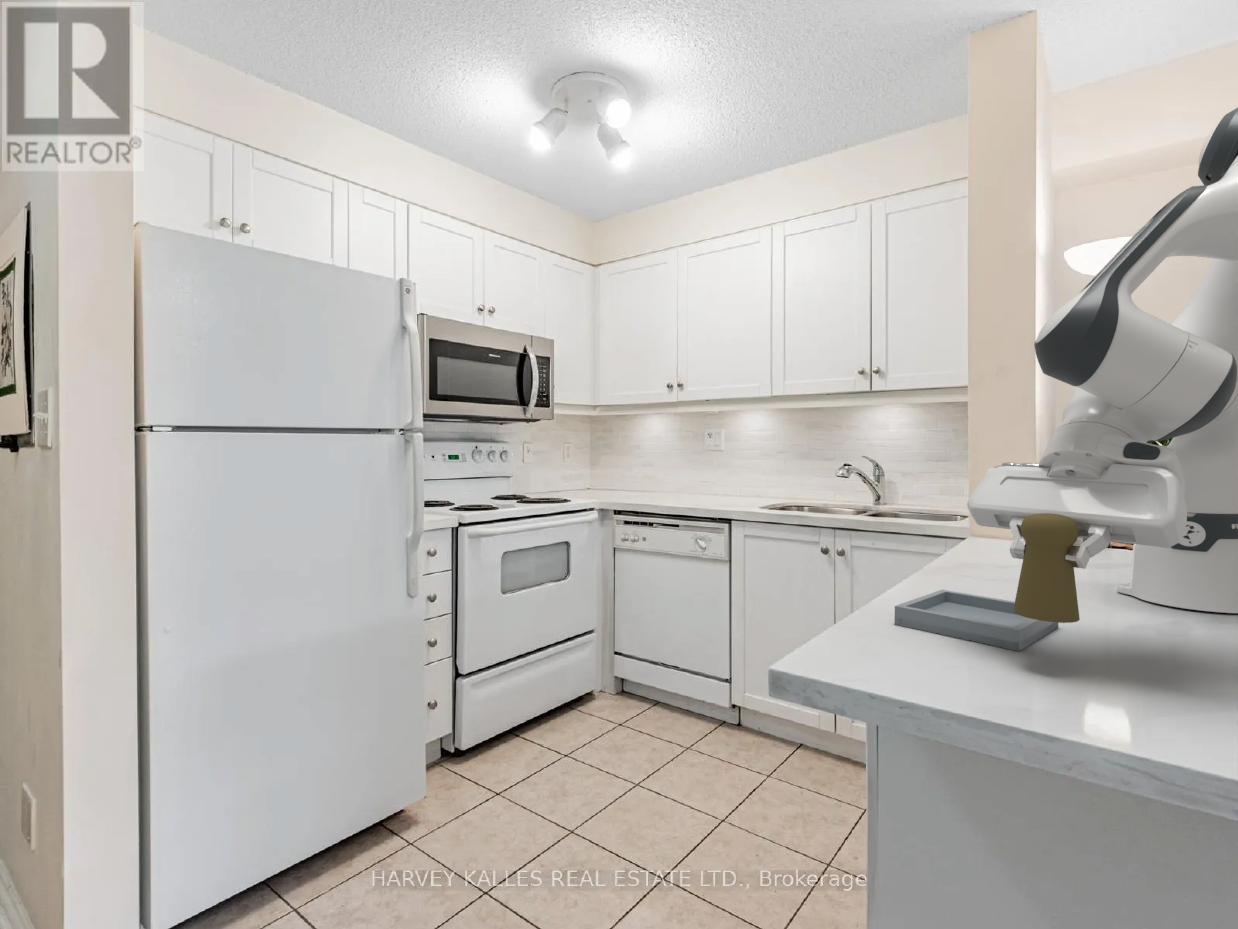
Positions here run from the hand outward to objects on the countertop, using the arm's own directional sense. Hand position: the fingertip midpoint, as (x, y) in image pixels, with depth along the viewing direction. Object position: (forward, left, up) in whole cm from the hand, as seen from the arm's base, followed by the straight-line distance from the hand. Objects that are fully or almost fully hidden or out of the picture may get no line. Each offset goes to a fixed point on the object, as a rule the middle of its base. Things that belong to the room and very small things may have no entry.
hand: (1045, 560), depth 70 cm
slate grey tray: (-12, -11, -12) cm, 21 cm away
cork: (-1, 0, -6) cm, 6 cm away
